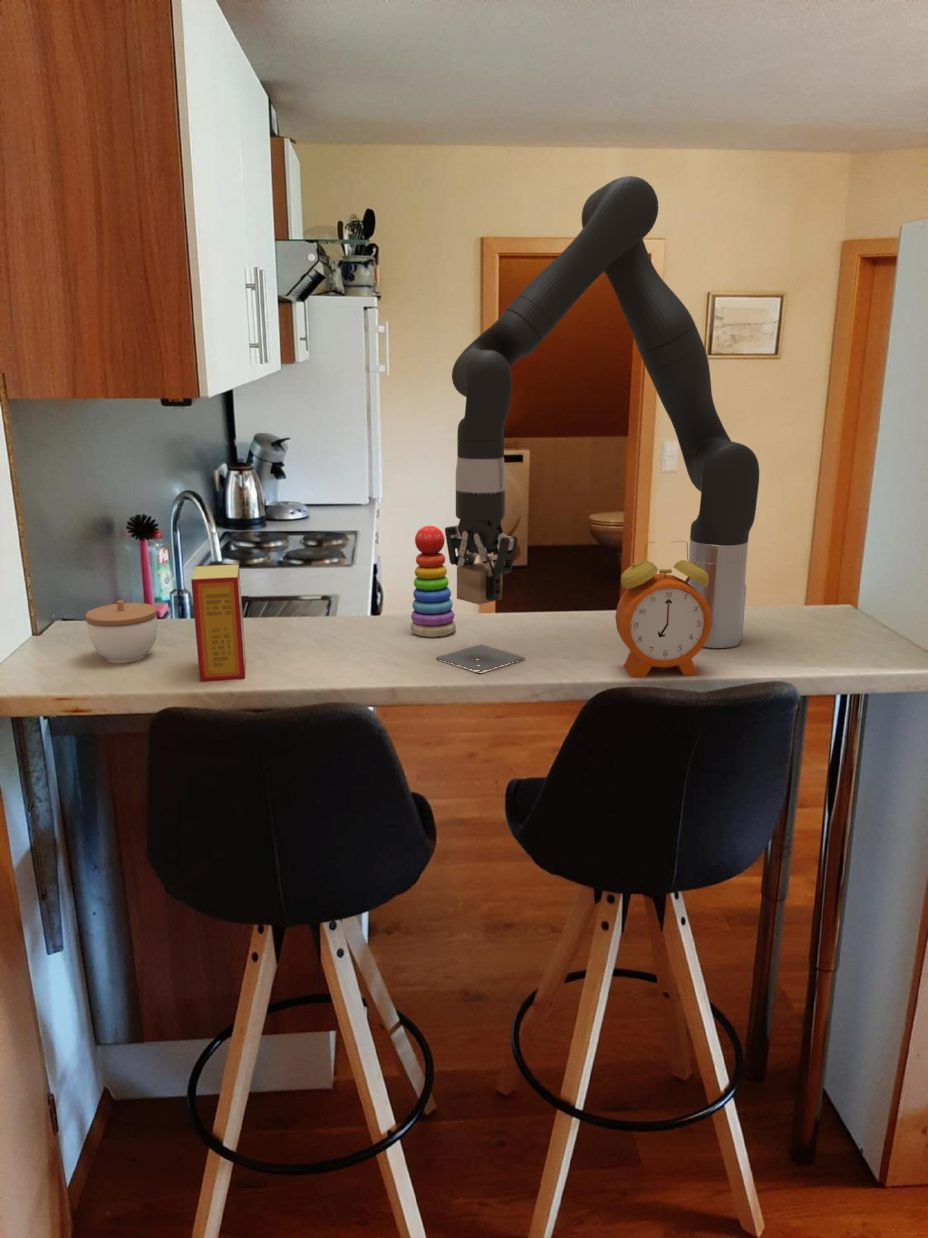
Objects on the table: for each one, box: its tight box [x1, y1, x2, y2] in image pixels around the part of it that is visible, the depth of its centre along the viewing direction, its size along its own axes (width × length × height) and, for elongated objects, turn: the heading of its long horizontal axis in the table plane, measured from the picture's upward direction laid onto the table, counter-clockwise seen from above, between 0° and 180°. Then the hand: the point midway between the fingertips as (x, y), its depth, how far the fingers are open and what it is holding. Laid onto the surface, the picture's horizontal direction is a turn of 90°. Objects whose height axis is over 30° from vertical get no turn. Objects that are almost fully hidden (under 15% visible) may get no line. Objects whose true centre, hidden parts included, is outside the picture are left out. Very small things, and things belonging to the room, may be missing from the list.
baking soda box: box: [190, 563, 247, 683], centre depth 142 cm, size 10×6×16 cm
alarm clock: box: [614, 540, 711, 678], centre depth 140 cm, size 13×6×20 cm, turn 94°
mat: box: [435, 643, 526, 672], centre depth 148 cm, size 10×10×1 cm
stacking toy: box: [410, 525, 457, 638], centre depth 161 cm, size 8×8×19 cm
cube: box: [456, 562, 503, 605], centre depth 145 cm, size 5×5×5 cm
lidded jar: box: [84, 599, 158, 664], centre depth 150 cm, size 11×11×9 cm
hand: (479, 595), depth 146 cm, fingers closed on cube, 5 cm apart
